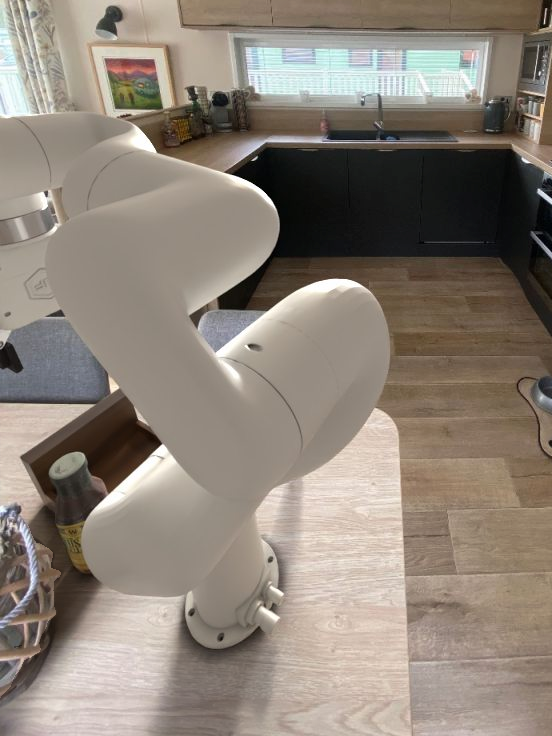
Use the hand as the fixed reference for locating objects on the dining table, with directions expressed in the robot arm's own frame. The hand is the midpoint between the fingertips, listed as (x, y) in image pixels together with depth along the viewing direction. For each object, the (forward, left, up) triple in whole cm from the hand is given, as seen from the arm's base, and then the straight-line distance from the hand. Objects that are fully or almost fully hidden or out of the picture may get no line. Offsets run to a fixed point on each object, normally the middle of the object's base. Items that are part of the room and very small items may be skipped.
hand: (58, 344), depth 51 cm
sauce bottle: (-2, +5, -36) cm, 37 cm away
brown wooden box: (+8, -3, -36) cm, 37 cm away
